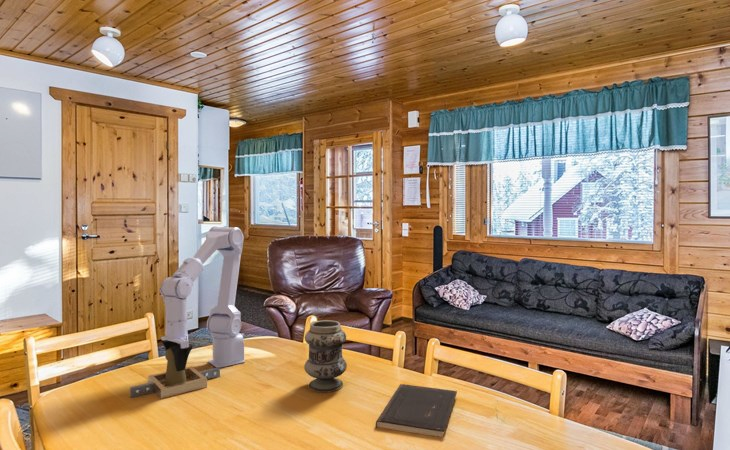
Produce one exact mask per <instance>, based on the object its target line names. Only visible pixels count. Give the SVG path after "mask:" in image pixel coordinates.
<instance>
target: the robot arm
mask: <svg viewBox="0 0 730 450" xmlns="http://www.w3.org/2000/svg"><path fill="white" fill-rule="evenodd" d="M244 240H245V235H244V234H243V231H242V230H241V229H240V227H238V226H237V227H236V226H234V227H227V226H225V227H223V226H212V227H211V228H209V230H208V231H207V233H205V240H204V242H202V244H201V245H200V247H199V249H198V250H197V252H196V253H195V254H194V255H193V257H187V258H186V259H184V260H183V261H182V264H181V265H180V266H179V267H178V268H177V270H176V271H174V273H173V274H172V275H171V276H169V277H166V278H165V279H164V280H163V281H162V283H161V285H160V288H159V293H160V295H161V296H162V298H163V299H162V301H163V303H164V311H165V312H164V315H165V316H164V317H165V319H164V320H165V323H164V324H165V330H164V331H165V333H164V334H165V335H162V336H161V338H160V339H161V344H162V345H163V347H164V349H165V352H166V351H167V350H168V349H169V348H170V349H171V351H172V353H173V356H174V359H175V366H176V370H177V371H182V370H185V368H187V362H188V359H189V356H190V354H191V351H192V349H193V345H192V344H191V343H189V342H190V340H189V333H188V297H189V296H191V293H192V288H193V286H194V283H195V281H196V280H197V278H198V277H199V276H200V275H201V274H202V272H203V271H204V264H205V263H206V262H207V261H208V259H210V258H211V257H212V255H213V254H214V253H216V251H217V252H219V253H220V254H221V255H222V257H223V260H222V268H221V275H220V276H221V277H220V283H219V291H218V298H217V304H216V305H215V306H214V307H213V308H211V309H210V312H209V316H208V318H207V320H206V329H207V331H208V333H210V336H211V337H212V358H211V359H209V360H208V363H210V365H212V366H213V367H214V368H217V367H219V368H220V369H221V368H225V367H228V366H233V365H238V364H242V363H245V362H246V360H245V341H244V340H245V339H244V336H243V335H242V334H241V333H240V332H241V329H242V321H241V319H242V318H241V314H242V312H241V311H240V310H238V308H237V307H236V306H235V304H236V295H237V287H238V280H239V274H240V273H239V272H240V265H241V264H240V263H241V256H242V253H243V247H244V246H243V245H244Z"/></svg>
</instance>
